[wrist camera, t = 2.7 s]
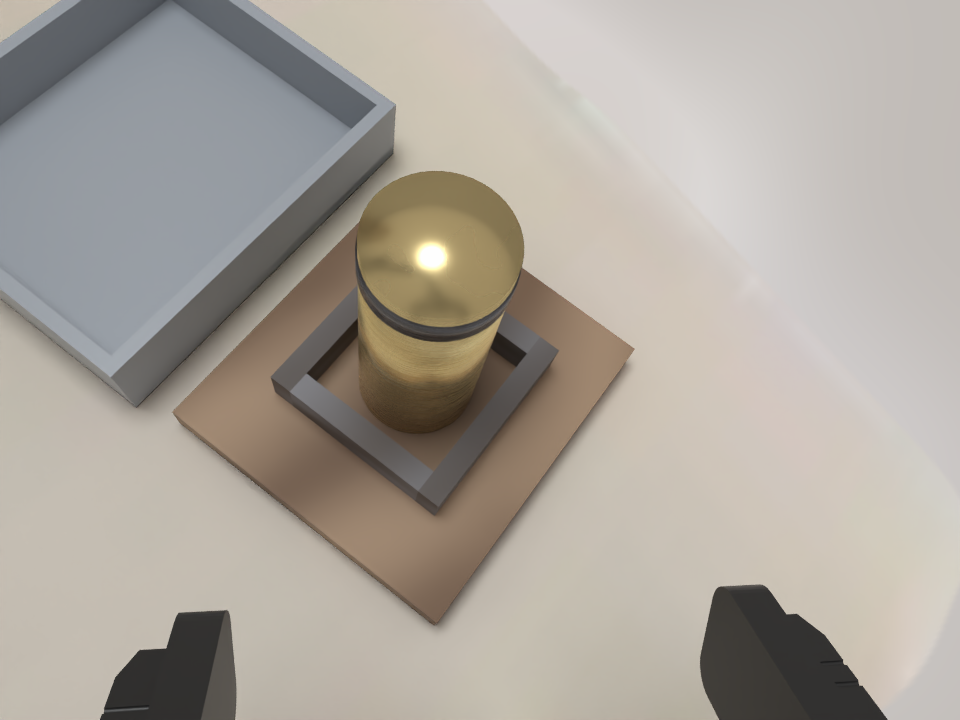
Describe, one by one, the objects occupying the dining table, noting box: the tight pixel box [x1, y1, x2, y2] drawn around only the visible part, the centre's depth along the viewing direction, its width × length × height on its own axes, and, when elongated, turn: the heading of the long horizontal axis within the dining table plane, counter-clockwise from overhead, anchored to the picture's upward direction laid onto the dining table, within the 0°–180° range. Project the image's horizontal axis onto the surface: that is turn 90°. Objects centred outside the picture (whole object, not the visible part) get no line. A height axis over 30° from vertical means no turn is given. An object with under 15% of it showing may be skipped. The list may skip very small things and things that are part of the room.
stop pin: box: [355, 171, 524, 434], centre depth 23 cm, size 4×4×10 cm
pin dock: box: [172, 222, 635, 625], centre depth 28 cm, size 11×12×3 cm
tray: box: [0, 0, 396, 407], centre depth 29 cm, size 12×14×3 cm
